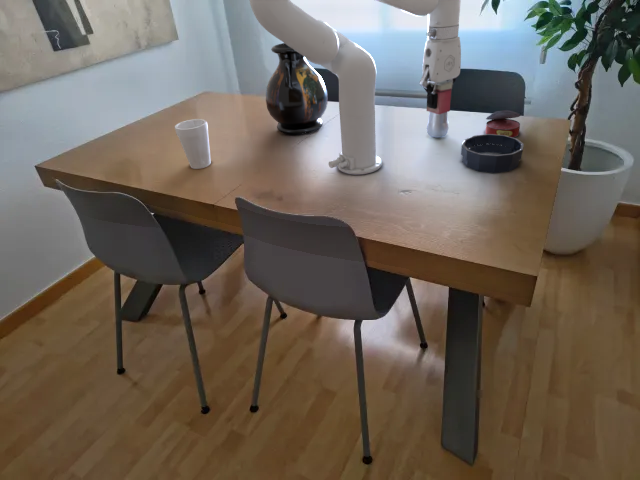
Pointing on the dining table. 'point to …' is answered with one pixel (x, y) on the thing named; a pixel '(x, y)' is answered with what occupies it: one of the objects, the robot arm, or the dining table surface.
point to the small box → (442, 98)
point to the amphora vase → (295, 93)
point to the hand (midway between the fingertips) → (438, 104)
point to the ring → (491, 143)
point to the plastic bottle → (437, 125)
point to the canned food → (503, 123)
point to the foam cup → (195, 142)
